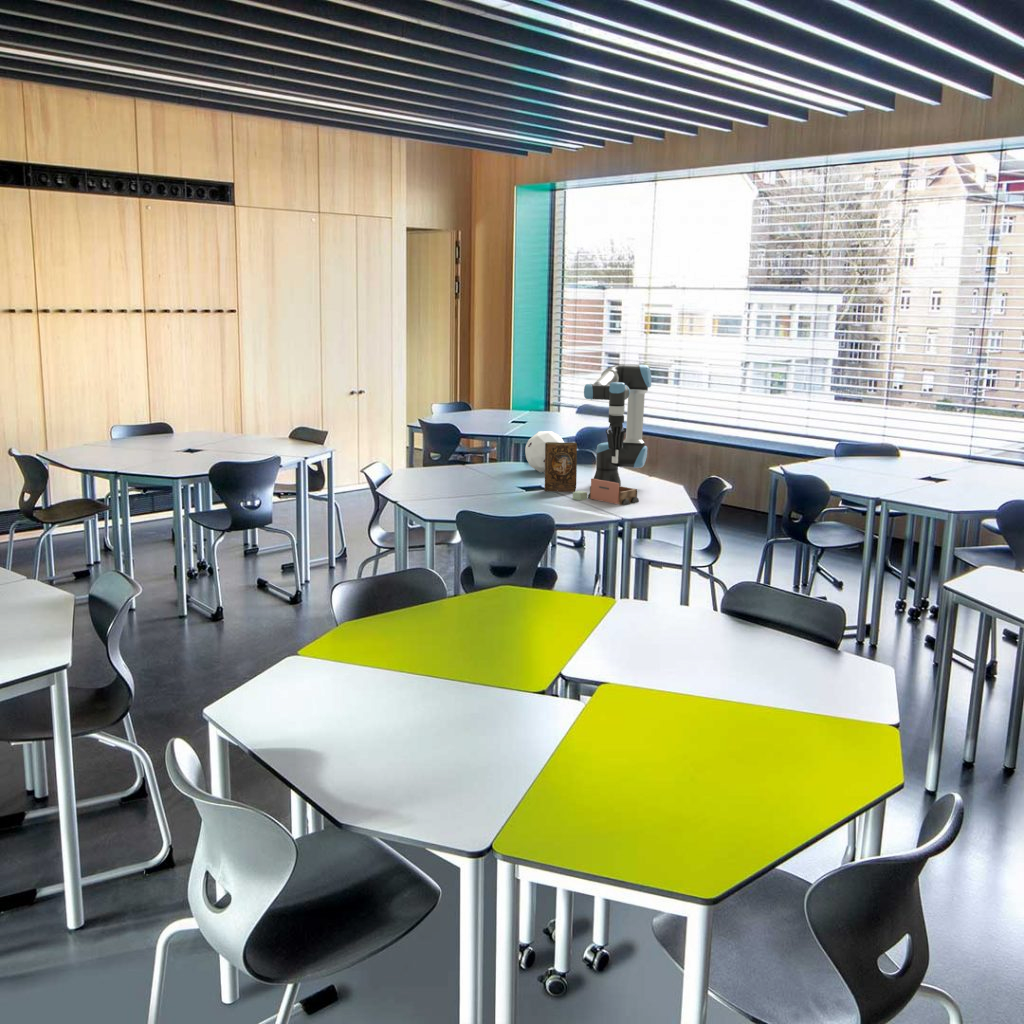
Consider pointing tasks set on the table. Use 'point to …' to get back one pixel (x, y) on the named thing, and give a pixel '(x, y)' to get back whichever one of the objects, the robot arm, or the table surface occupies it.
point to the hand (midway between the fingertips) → (614, 462)
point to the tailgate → (605, 491)
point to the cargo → (579, 495)
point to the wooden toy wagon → (625, 495)
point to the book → (560, 467)
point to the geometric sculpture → (539, 448)
